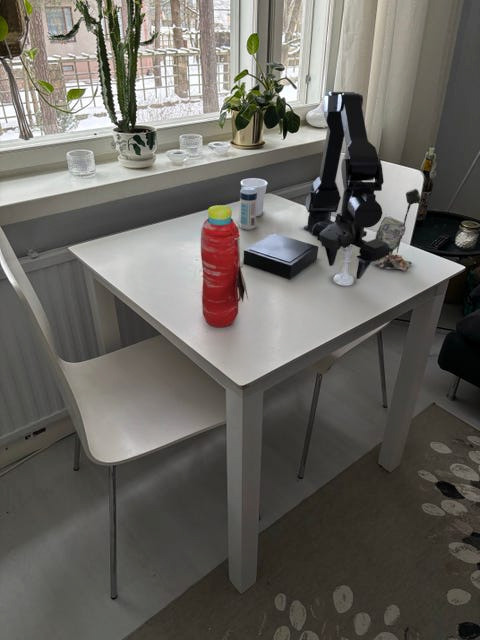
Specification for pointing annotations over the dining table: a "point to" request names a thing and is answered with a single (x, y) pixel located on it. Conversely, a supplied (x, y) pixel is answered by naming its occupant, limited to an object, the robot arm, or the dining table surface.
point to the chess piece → (345, 270)
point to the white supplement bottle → (248, 207)
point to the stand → (280, 255)
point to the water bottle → (221, 267)
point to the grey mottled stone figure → (395, 236)
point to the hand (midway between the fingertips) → (344, 272)
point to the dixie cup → (260, 189)
